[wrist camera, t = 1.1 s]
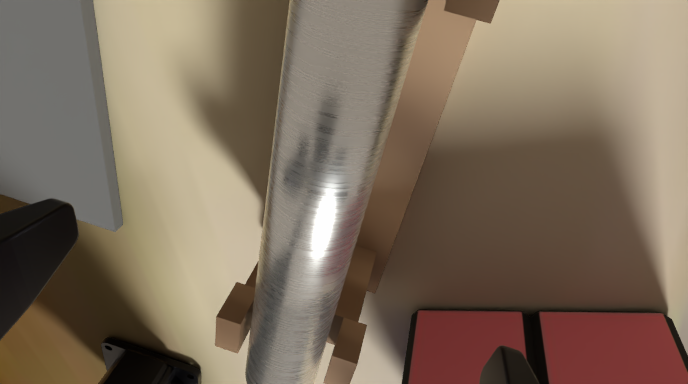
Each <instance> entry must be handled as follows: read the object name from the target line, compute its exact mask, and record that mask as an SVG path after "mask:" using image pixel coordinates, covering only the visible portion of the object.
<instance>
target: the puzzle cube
mask: <svg viewBox="0 0 688 384" xmlns="http://www.w3.org/2000/svg"><path fill="white" fill-rule="evenodd" d="M500 345H504V346H507V347H510V348H513V349H516V350H519V351H520V352H522V353H523V355H524V356H525V358H526V360H527V362H528V364H529V365H530V367H531V369H532V371H533V373H534V375H535V376H536V378H537V380H538V382H539V384H688V355H687V353H686V351H685V349H684V346H683V344H682V342H681V339H680V337H679V335H678V332H677V330H676V328H675V326H674V323H673V321H672V319H671V318H669V317H668V316H666V315H665V314H663V313H633V312H548V311H538V312H536V313H535V314H534V315H533V316H531V317H530V316H528V315H527V314H525V313H524V312H522V311H463V310H418V311H416V312H415V313H414V314H413V315H412V318H411V325H410V331H409V338H408V345H407V352H406V358H405V365H404V372H403V379H402V384H479V381H480V375H481V372H482V369H483V367H484V365H485V364H486V363H487V361H488V360H489V358H490V357H491V355H492V354H493V353H494V351H495V350H496V348H497V347H498V346H500Z"/></svg>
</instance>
